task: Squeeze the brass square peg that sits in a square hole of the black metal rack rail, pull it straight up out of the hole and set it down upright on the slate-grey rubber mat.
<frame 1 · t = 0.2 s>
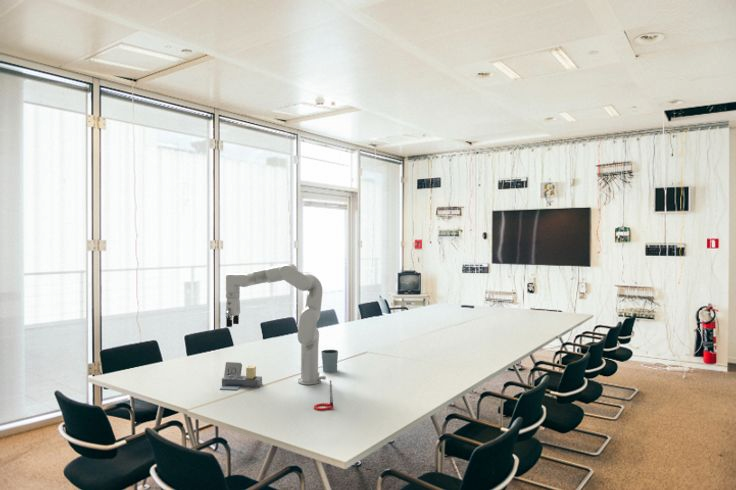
hand: (232, 325, 279), 31 cm above the table, tool pointing down, fingers open, 9 cm apart
rack rail: (242, 385, 268), on the table
rubber mat: (230, 388, 261), on the table
grey-green cup: (329, 371, 298), on the table
brass peg: (251, 385, 267), resting in rack rail
electrical switch: (233, 378, 281), on the table
tow hook: (323, 408, 232), on the table
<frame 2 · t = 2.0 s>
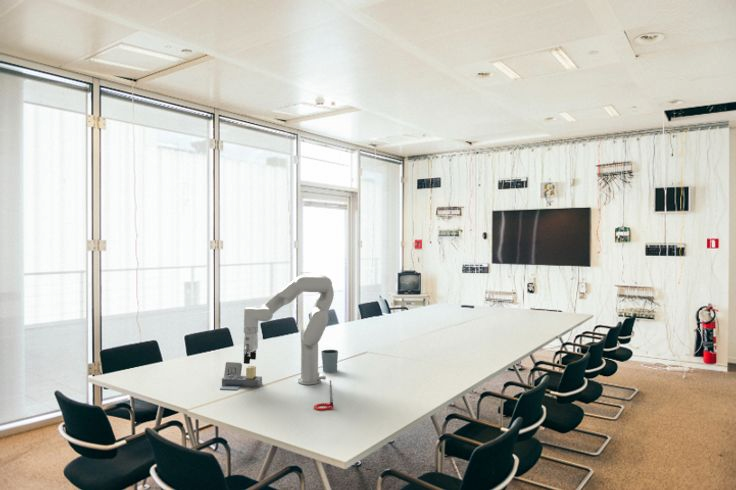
hand: (249, 361, 267), 13 cm above the table, tool pointing down, fingers open, 9 cm apart
nothing on the table moved.
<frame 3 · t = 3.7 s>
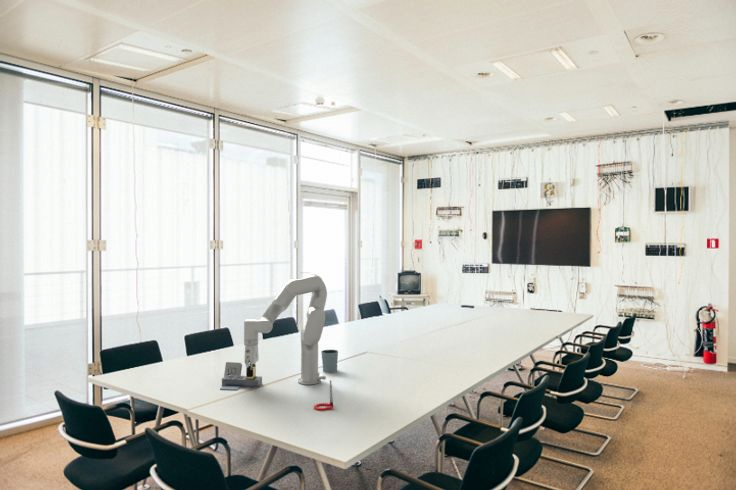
hand: (251, 375, 267), 6 cm above the table, tool pointing down, fingers closed on brass peg, 4 cm apart
brass peg: (251, 385, 267), resting in rack rail, touching gripper
everything else where it was.
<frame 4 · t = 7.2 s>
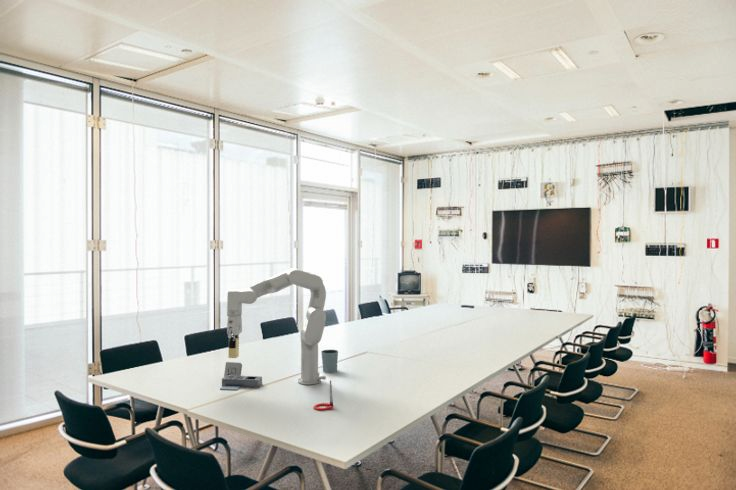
hand: (233, 346, 262), 22 cm above the table, tool pointing down, fingers closed on brass peg, 4 cm apart
brass peg: (233, 357, 262), point 16 cm above the table, touching gripper
everything else where it was.
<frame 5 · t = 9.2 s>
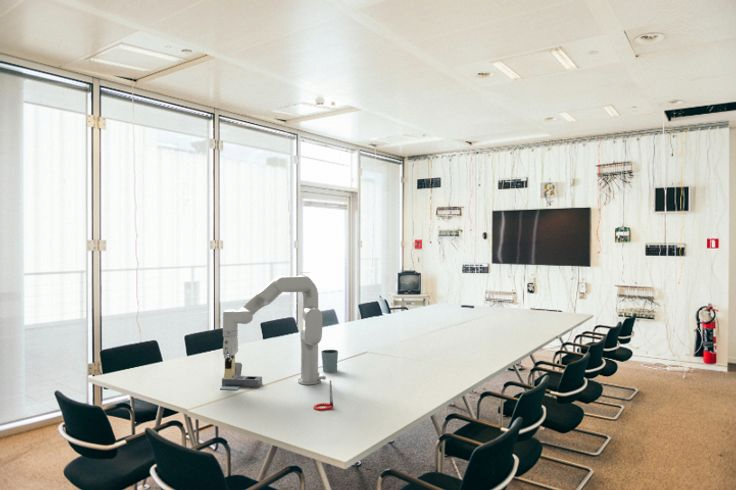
hand: (229, 367, 261), 11 cm above the table, tool pointing down, fingers closed on brass peg, 4 cm apart
brass peg: (229, 377, 261), point 6 cm above the table, touching gripper
everything else where it was.
when the fingers open (7 cm above the table, at t = 10.7 s): brass peg drops 1 cm, resting on rubber mat.
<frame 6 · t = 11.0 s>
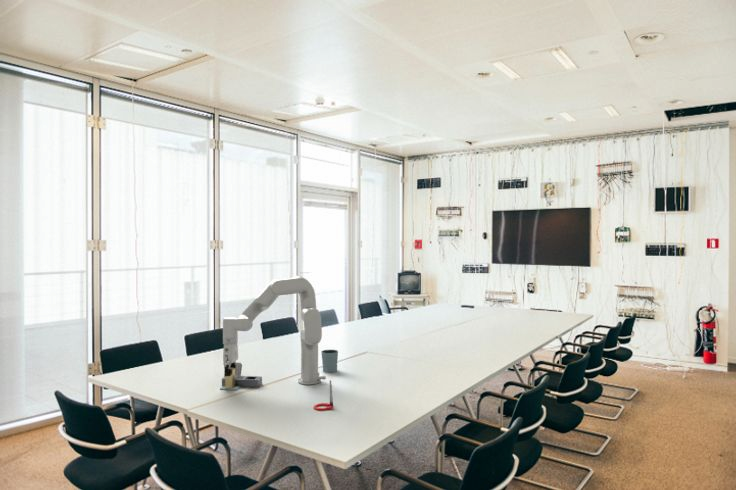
hand: (230, 373, 261), 8 cm above the table, tool pointing down, fingers open, 6 cm apart
brass peg: (230, 387, 261), point 1 cm above the table, touching rubber mat
everything else where it was.
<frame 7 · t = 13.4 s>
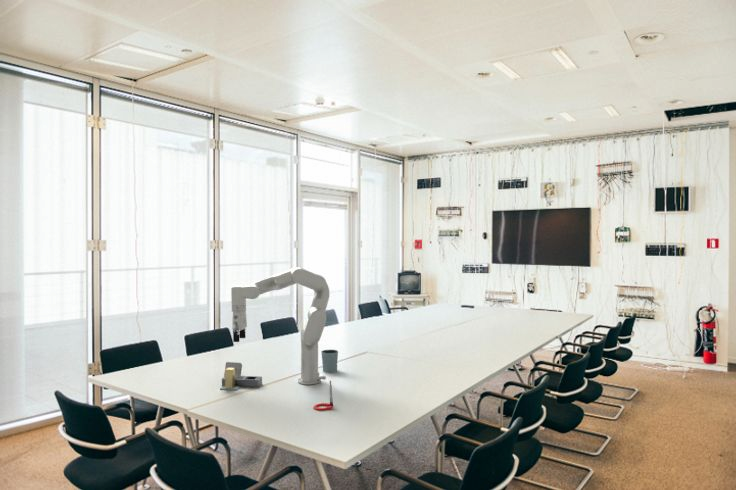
hand: (239, 339, 266), 25 cm above the table, tool pointing down, fingers open, 9 cm apart
nothing on the table moved.
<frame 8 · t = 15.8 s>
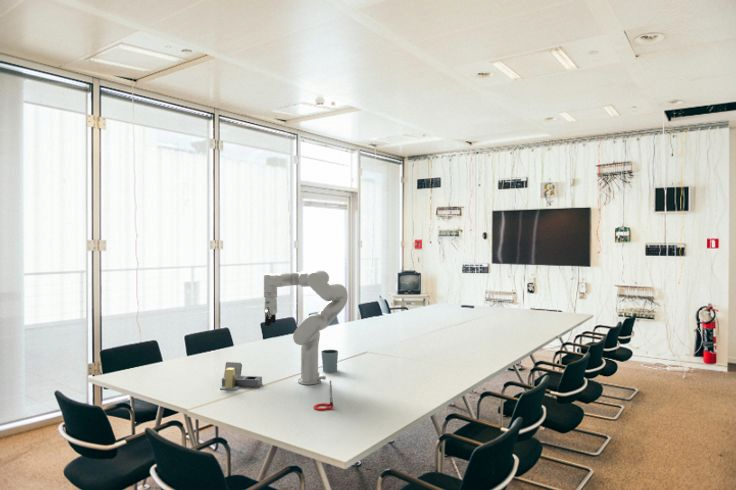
hand: (270, 324, 285), 30 cm above the table, tool pointing down, fingers open, 9 cm apart
nothing on the table moved.
at the end: brass peg inside the target area (0.1 cm from its centre), point 0.6 cm above the table; brass peg tilted 0°; the gripper is holding nothing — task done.
